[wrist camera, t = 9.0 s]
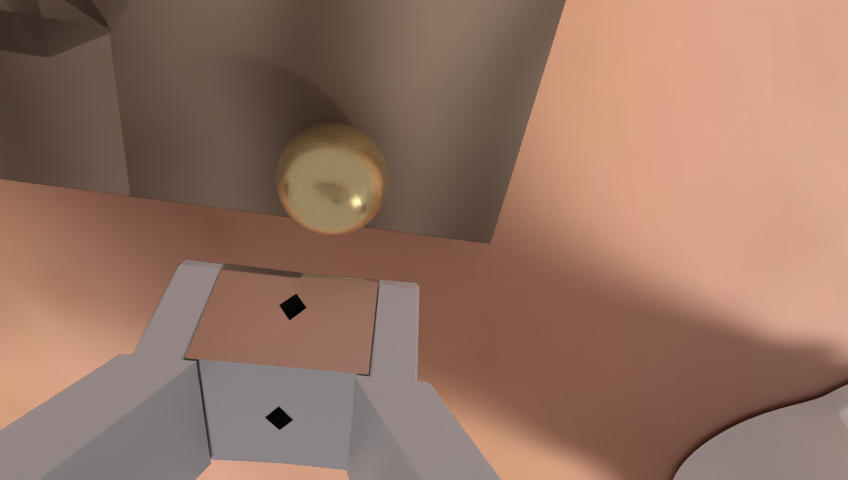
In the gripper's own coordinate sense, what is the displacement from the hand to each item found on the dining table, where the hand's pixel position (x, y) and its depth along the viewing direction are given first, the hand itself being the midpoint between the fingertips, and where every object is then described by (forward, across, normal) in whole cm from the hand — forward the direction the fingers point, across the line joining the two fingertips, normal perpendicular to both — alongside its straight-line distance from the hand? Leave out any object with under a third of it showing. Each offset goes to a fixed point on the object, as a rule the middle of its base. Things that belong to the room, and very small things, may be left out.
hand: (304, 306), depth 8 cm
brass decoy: (+10, +1, +5) cm, 12 cm away
